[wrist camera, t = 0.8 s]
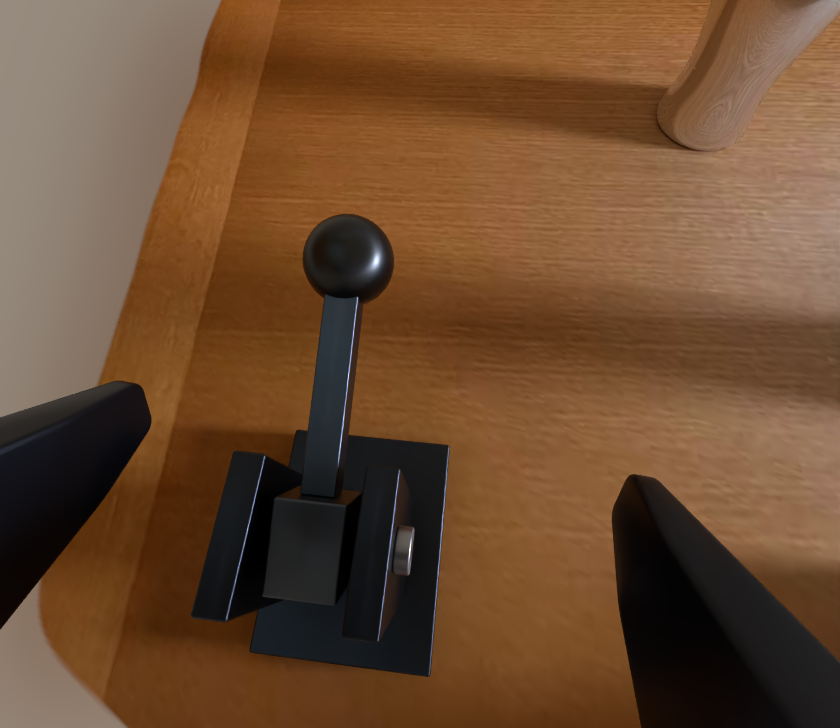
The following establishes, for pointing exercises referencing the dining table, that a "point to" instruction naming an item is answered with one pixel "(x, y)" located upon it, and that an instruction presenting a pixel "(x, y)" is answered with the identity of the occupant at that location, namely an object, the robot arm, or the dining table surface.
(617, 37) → the dining table surface
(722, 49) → the beer glass
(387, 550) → the switch bracket
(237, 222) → the dining table surface
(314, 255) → the switch
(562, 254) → the dining table surface
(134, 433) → the robot arm
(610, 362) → the dining table surface
